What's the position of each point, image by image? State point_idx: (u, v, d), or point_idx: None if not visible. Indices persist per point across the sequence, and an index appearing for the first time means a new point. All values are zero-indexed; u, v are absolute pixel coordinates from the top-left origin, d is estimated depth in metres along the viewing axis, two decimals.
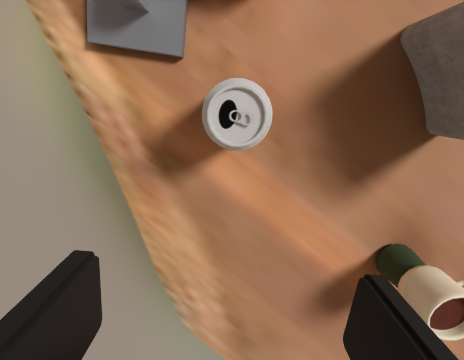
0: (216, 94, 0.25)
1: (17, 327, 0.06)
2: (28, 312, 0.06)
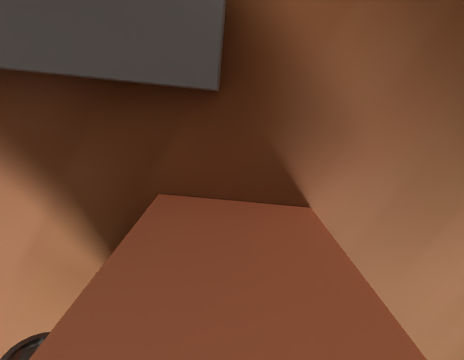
0: None
1: None
2: None
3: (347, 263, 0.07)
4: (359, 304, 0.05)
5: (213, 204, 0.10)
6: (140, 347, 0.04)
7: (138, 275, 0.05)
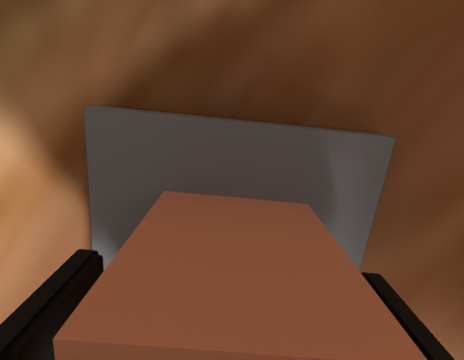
0: None
1: (25, 324, 0.06)
2: (35, 310, 0.06)
3: (340, 253, 0.07)
4: (349, 288, 0.06)
5: (216, 201, 0.10)
6: (155, 321, 0.04)
7: (149, 262, 0.06)
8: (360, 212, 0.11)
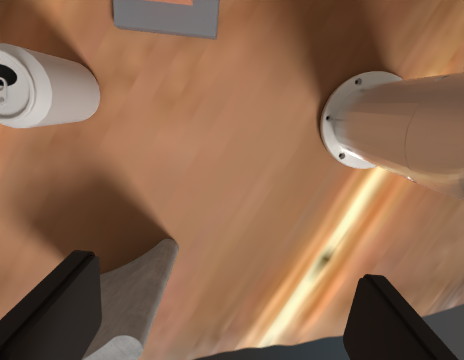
0: (14, 59, 0.22)
1: (17, 327, 0.06)
2: (28, 312, 0.06)
3: None
4: None
5: None
6: None
7: None
8: None
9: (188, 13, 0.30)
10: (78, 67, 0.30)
